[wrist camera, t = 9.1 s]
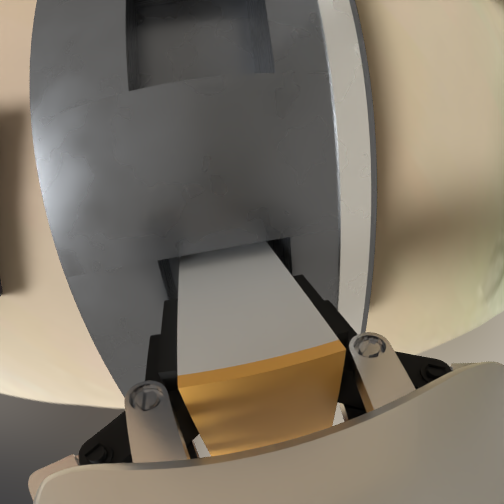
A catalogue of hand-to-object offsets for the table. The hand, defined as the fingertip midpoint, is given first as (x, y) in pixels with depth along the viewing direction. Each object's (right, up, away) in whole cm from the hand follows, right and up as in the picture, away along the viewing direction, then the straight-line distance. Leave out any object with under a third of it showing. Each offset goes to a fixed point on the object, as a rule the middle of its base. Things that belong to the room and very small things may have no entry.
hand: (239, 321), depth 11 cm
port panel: (-2, +7, +2) cm, 8 cm away
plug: (-1, +1, +3) cm, 3 cm away
